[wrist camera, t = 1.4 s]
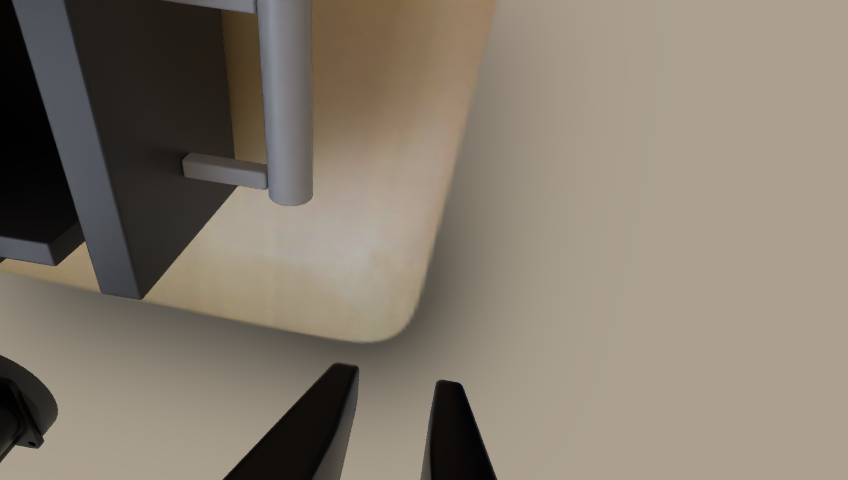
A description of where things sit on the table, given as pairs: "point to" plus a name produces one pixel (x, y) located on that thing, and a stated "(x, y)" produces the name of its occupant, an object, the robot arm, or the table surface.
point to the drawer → (139, 127)
